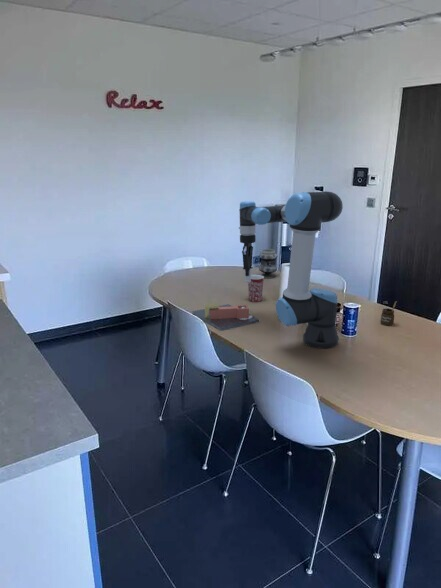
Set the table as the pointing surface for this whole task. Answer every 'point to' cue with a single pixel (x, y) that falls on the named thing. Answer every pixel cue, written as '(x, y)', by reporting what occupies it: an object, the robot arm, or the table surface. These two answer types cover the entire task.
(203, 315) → the plate
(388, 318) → the utensil holder
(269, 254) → the apothecary jar
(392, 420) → the table surface
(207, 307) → the block
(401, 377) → the table surface
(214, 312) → the link
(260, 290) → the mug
